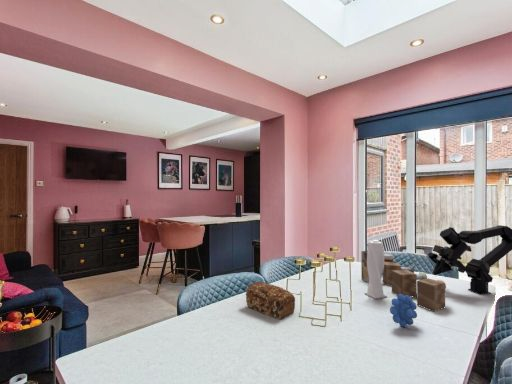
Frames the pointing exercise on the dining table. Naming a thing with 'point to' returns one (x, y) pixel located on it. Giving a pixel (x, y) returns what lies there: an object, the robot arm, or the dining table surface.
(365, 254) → the coffee box
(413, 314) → the grapes
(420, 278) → the button sage
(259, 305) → the bread
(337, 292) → the dining table surface
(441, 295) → the box right
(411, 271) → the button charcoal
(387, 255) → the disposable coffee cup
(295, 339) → the dining table surface
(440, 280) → the button terracotta
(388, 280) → the box left
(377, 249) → the skyscraper
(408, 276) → the box middle
